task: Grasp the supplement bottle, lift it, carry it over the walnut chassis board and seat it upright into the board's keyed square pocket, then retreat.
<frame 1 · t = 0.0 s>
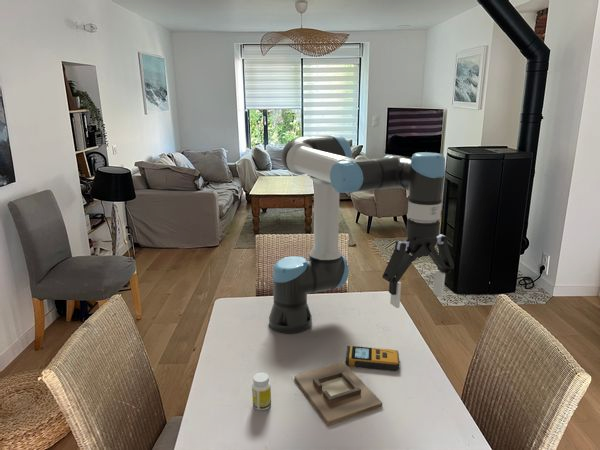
hand: (416, 300, 110), 28 cm above the table, fingers open, 13 cm apart
electronic device: (372, 363, 133), on the table
supplement bottle: (261, 405, 115), on the table
chassis board: (336, 392, 119), on the table
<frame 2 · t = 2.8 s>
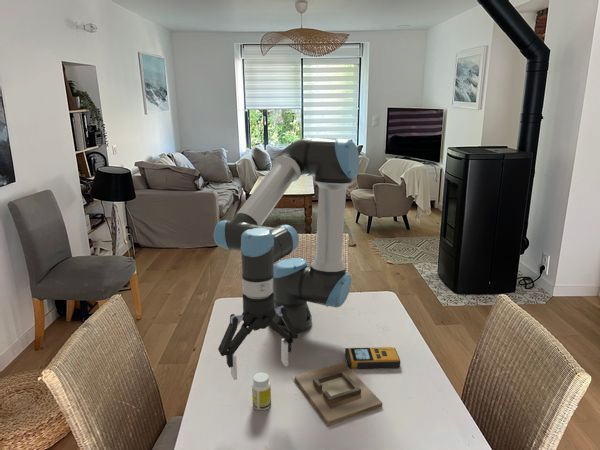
hand: (260, 370, 111), 11 cm above the table, fingers open, 13 cm apart
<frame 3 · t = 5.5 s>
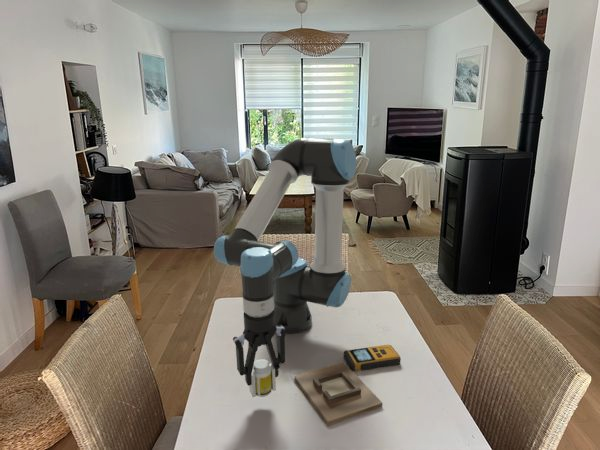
hand: (262, 390, 114), 4 cm above the table, fingers closed on supplement bottle, 5 cm apart
supplement bottle: (262, 391, 114), point 3 cm above the table, touching gripper
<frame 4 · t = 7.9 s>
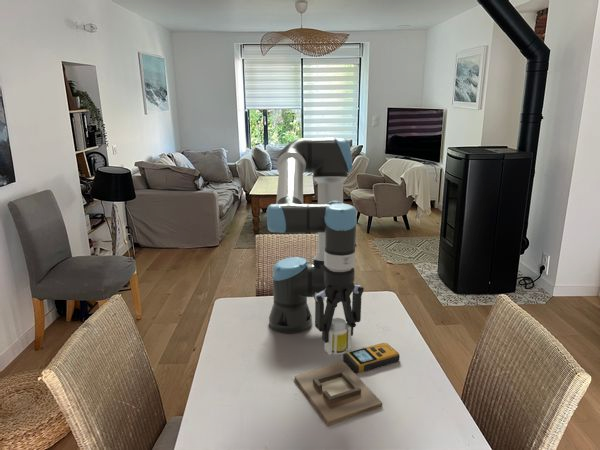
hand: (337, 349, 115), 13 cm above the table, fingers closed on supplement bottle, 5 cm apart
supplement bottle: (337, 350, 116), point 13 cm above the table, touching gripper
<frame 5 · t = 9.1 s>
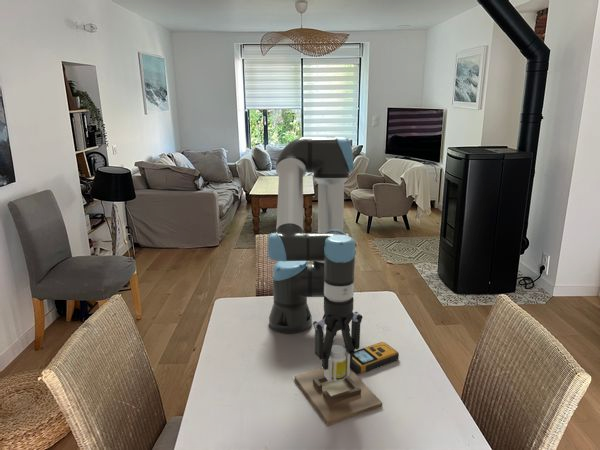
hand: (336, 375, 118), 5 cm above the table, fingers closed on supplement bottle, 5 cm apart
supplement bottle: (336, 377, 118), point 5 cm above the table, touching gripper
when the fingers open (3 cm above the table, at t = 10.3 s): supplement bottle drops 1 cm, resting on chassis board.
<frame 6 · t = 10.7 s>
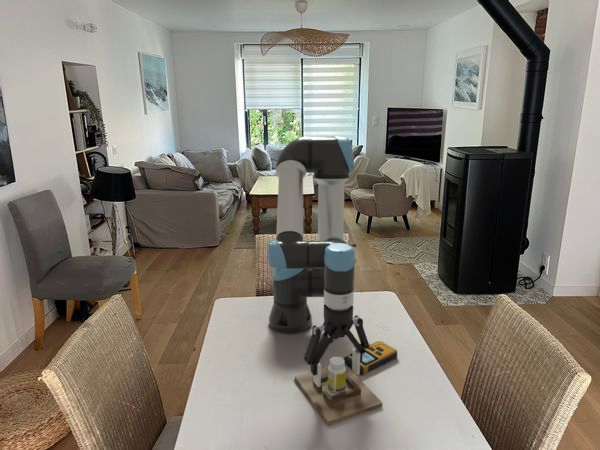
hand: (336, 377, 118), 5 cm above the table, fingers open, 11 cm apart
supplement bottle: (336, 388, 119), point 1 cm above the table, touching chassis board
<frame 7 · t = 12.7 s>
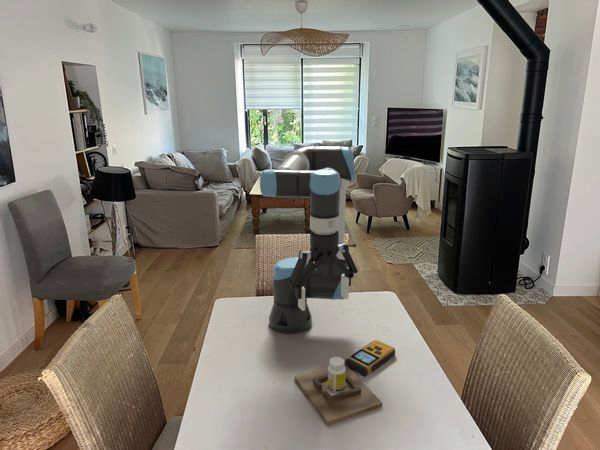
hand: (323, 302, 121), 23 cm above the table, fingers open, 13 cm apart
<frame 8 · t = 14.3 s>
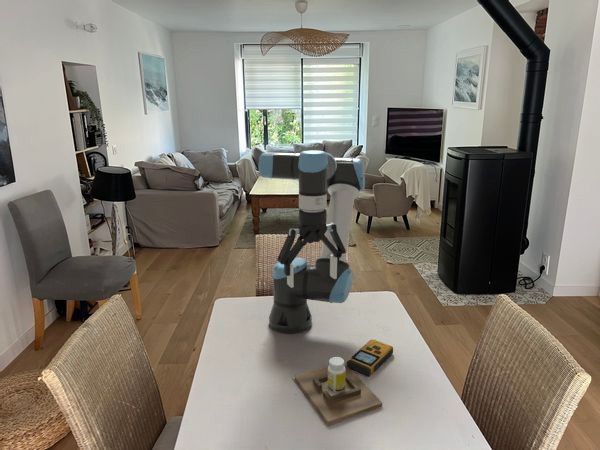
hand: (312, 281, 125), 27 cm above the table, fingers open, 13 cm apart
at the end: supplement bottle 0.1 cm off-centre on the chassis board, point 1.1 cm above the chassis board's base; supplement bottle tilted 0°; the gripper is holding nothing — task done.
